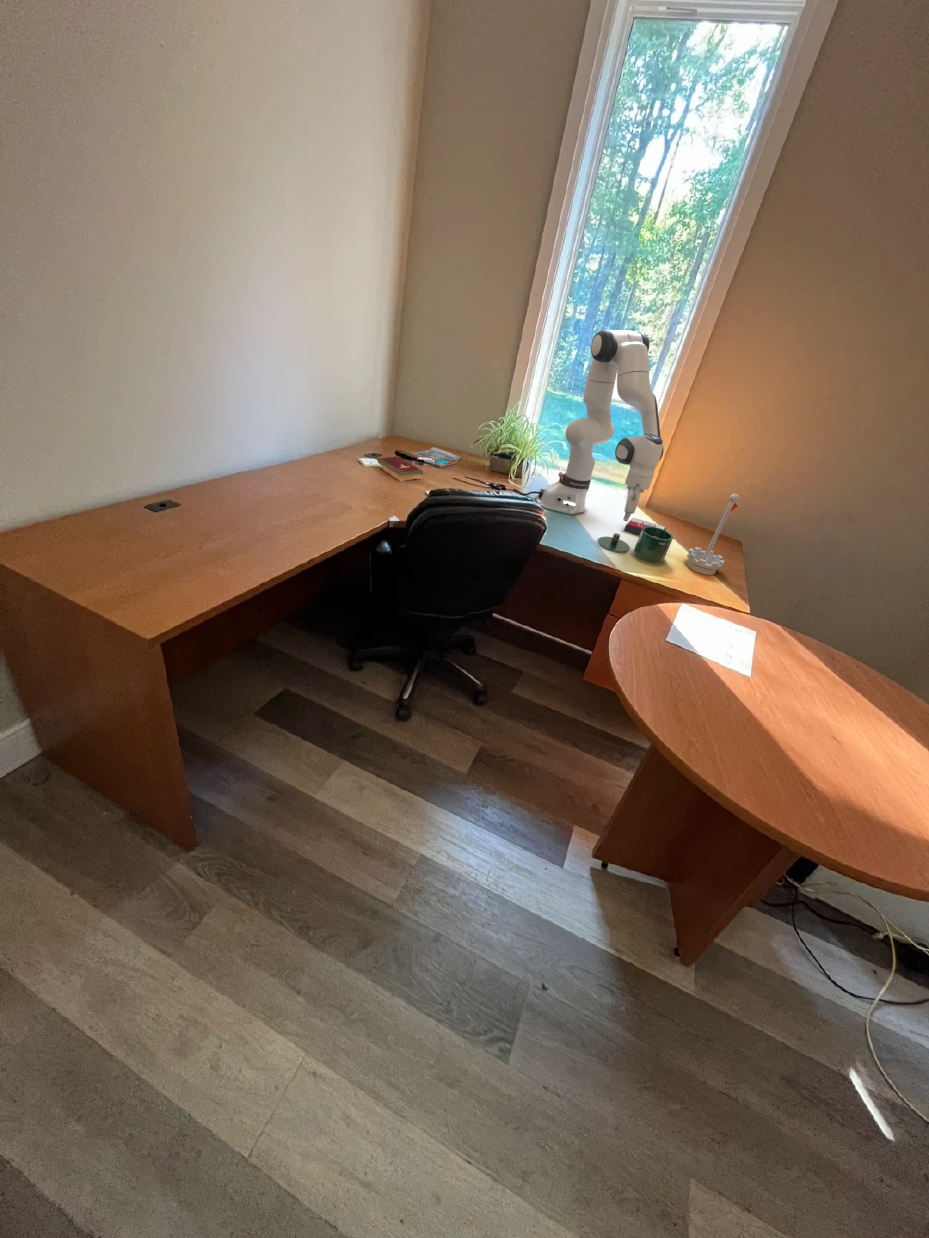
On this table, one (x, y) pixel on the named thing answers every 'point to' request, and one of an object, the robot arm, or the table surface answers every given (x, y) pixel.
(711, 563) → the flag stand
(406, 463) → the hardcover book
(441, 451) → the office telephone
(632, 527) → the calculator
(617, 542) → the tin lid
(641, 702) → the table surface
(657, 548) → the tin
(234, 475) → the table surface
